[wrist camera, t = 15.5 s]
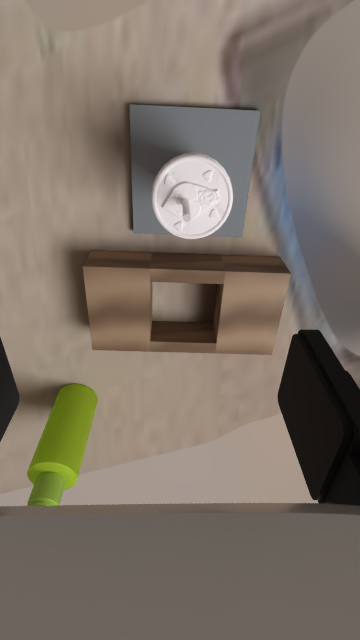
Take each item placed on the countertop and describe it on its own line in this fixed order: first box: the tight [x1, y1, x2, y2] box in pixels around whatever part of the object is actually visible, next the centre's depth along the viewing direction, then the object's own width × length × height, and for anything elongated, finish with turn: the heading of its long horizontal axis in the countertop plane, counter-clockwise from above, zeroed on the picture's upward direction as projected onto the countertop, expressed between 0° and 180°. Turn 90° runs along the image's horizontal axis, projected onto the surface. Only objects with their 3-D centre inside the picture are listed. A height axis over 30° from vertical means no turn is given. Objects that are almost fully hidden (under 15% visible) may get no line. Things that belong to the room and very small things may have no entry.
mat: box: [129, 104, 260, 237], centre depth 35 cm, size 12×12×1 cm
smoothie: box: [152, 153, 233, 239], centre depth 29 cm, size 6×6×14 cm
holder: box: [83, 250, 291, 355], centre depth 41 cm, size 11×22×4 cm, turn 88°
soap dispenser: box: [27, 384, 97, 506], centre depth 44 cm, size 6×7×20 cm
